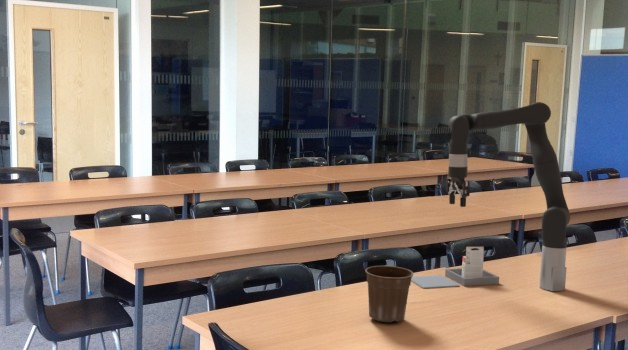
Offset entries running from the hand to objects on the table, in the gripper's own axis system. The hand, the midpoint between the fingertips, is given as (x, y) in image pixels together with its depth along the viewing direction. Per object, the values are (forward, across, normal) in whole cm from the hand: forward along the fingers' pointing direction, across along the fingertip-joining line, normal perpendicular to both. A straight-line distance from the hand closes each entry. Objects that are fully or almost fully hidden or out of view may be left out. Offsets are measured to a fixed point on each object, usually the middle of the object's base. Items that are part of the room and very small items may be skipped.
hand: (457, 205), depth 285 cm
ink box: (+32, +3, -9) cm, 34 cm away
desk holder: (+32, +3, -9) cm, 33 cm away
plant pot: (+32, -34, +46) cm, 65 cm away
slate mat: (+32, +4, +9) cm, 33 cm away
